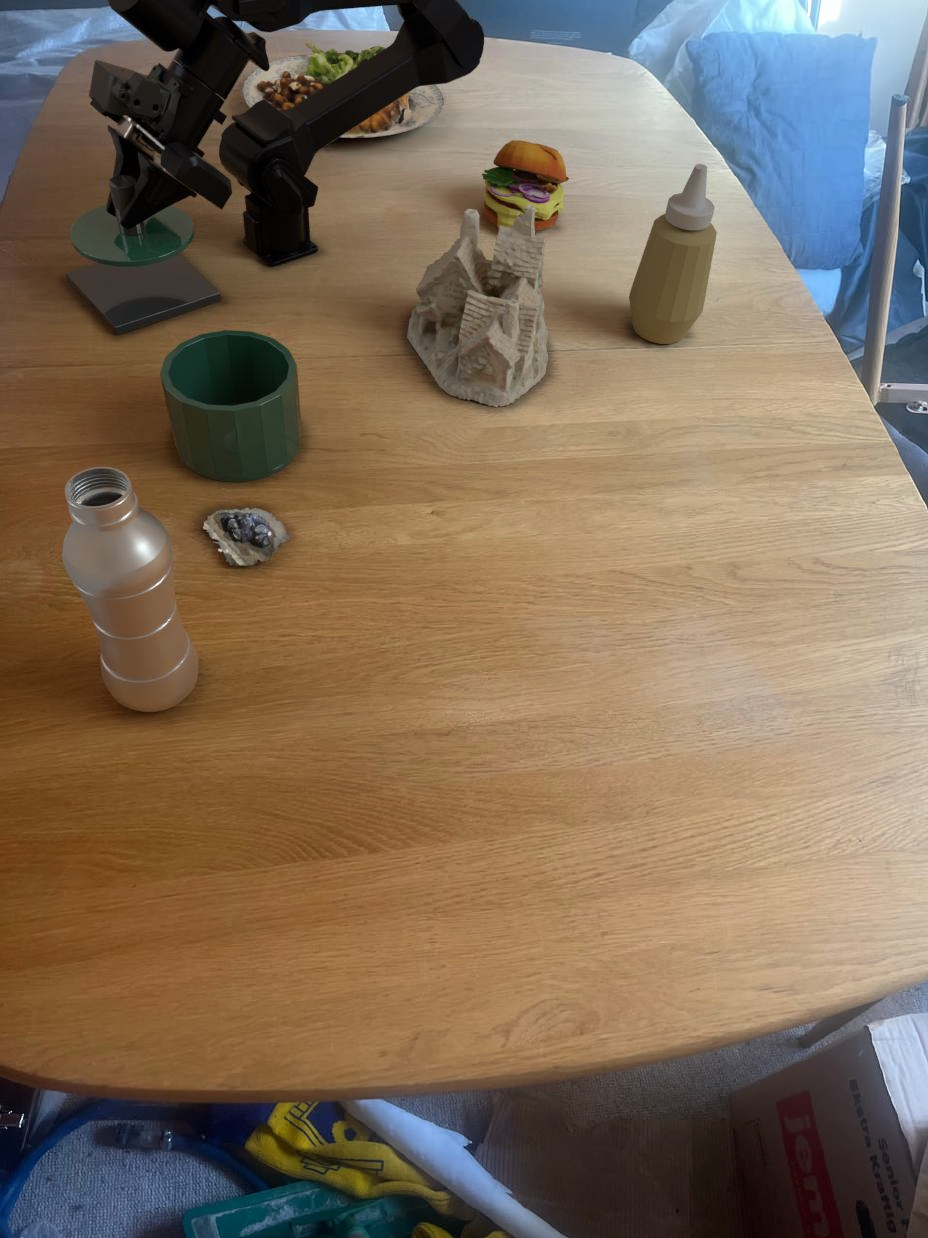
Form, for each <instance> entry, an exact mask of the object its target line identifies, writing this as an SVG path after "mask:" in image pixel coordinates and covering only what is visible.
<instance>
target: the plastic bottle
mask: <svg viewBox="0 0 928 1238" xmlns="http://www.w3.org/2000/svg"><path fill="white" fill-rule="evenodd" d="M64 496H65V499H66V502H67V505H68V513H69V516H70V518H71V520H72V523H71V524H70V526H69V528H68V530H67V532H66V534H65V536H64V539H63V543H62V545H63V546H62V554H61V555H62V556H61V558H62V565H63V567H64V569H65V571H66V574H67V575H68V577H69V579H70V581H71V582H72V584H73V585H74V587H75V589H76V590H77V592H78V594H79V596H80V597H81V599H82V601H83V602H84V604H85V606H86V608H87V611H88V613H89V616H90V618H91V620H92V622H93V626H94V628H95V631H96V635H97V638H98V639H97V640H98V644H99V649H100V669H101V670H100V671H101V677H102V681H103V683H104V685H105V687H106V689H107V690H108V692H109V693H110V695H111V696H112V697H113V699H114V700H115V701H116V702H117V703H119V704H120V705H121V706H123V707H125V708H127V709H129V710H133V711H136V712H137V711H138V712H143V713H155V712H157V713H158V712H161V711H165V710H168V709H171V708H173V707H175V706H176V705H178V704H180V703H181V702H182V701H183V700H184V699H185V698H187V697H188V696H189V695H190V694H191V692H192V691H193V690H194V688H195V687H196V685H197V681H198V677H199V655H198V652H197V650H196V648H195V645H194V644H193V641H192V639H191V638H190V636H189V635H188V633H187V631H186V628H185V626H184V623H183V620H182V618H181V615H180V613H179V609H178V605H177V600H176V592H175V585H174V549H173V548H174V547H173V542H172V538H171V534H169V532H168V530H167V529H166V527H165V526H164V524H163V523H162V522H161V520H160V519H158V518H157V517H156V516H155V515H153V514H152V513H151V512H149V511H147V510H146V509H144V508H142V507H140V503H139V500H138V495H137V494H136V493H135V491H134V489H133V485H132V481H131V479H130V478H129V476H128V475H127V473H125V472H123V471H122V470H120V469H118V468H115V467H109V466H95V467H90V468H87V469H83V470H81V471H79V472H77V473H75V474H74V475H72V476H71V477H70V478H69V479H68V481H67V482H66V484H65V486H64Z"/></svg>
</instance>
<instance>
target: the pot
mask: <svg viewBox="0 0 928 1238" xmlns="http://www.w3.org/2000/svg"><path fill="white" fill-rule="evenodd" d="M298 375H299V373H298V365H297V362H296V359H295V358H294V357H293V354H292V352H291V350H290V349H289V348H288V347H286V346H285V345H283V344H282V343H280V342H279V341H278V340H276V339H275V338H274V337H270V336H267V335H264V334H261V333H258V332H255V331H249V330H231V329H223V330H217V331H211V332H205V333H201V334H198V335H195V336H193V337H192V338H188V339H187V340H184V341H183V342H180V343H178V345H176V346H175V347H174V348H173V349H172V350H171V351H170V352H169V353H168V354H167V355H166V356H165V357H164V359H163V363H162V365H161V368H160V371H159V376H160V380H161V385H162V390H163V391H162V392H163V395H164V399H165V405H166V409H167V415H168V419H169V424H170V427H171V428H170V429H171V434H172V437H173V438H172V439H173V442H174V446H175V448H176V452H177V455H178V457H179V460H180V461H181V462H182V463H183V464H184V465H185V466H186V468H188V469H190V470H191V471H193V472H194V473H196V474H197V475H200V476H202V477H204V478H207V479H211V480H215V481H219V482H230V483H240V482H241V483H242V482H249V481H250V482H251V481H255V480H261V479H263V478H267V477H269V476H271V475H273V474H276V473H278V472H280V471H281V470H283V469H284V468H285V467H287V466H288V465H289V464H290V463H291V462H292V461H293V460H294V459H295V458H296V456H297V455H298V454H299V452H300V450H301V449H300V448H301V445H302V432H303V429H302V415H301V403H300V402H301V401H300V387H299V377H298Z"/></svg>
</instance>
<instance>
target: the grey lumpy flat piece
mask: <svg viewBox="0 0 928 1238" xmlns="http://www.w3.org/2000/svg"><path fill="white" fill-rule="evenodd" d="M202 529H203V530H206V531H205V532H206V533H208V536H209V538H211V539H212V540H216V541H214V543H215V544H218V545H219V547H220V548H217V552H220V553H222V552H223V555H224V557H225V561H226V562H228V563H229V565H230V566H237V567H242V566H243V567H244V566H248V567H250V566H255V565H256V564H257V563H258V561H260V562H262V563H263V562H268V560H269V559H271V557H272V553H273V552H274V553H278V551H279V550H280V548H279V545H280V544H285V543H286V544H287V542H288V541H291V537H292V536H291V534H287V533H288V532H287V529H286V527H285V525H284V524H283V523H282V521H281V520H277V517H275V516H273V513H271V512H269V511H268V510H267V511H266V510H264V509H260V507H258V508H257V507H254V508H249V507H244V508H241V510H240V509H237V508H234V509H223V508H222V509H218V510H215V511H214V512H213V513H211V514H210V515H207V519H206V520H204V521H203V526H202Z"/></svg>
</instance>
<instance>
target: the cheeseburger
mask: <svg viewBox="0 0 928 1238" xmlns="http://www.w3.org/2000/svg"><path fill="white" fill-rule="evenodd" d="M493 165H494V166H496V167H492V168H489V169H484V171H483V173H482V174H481V176H482V179H483V180H484V185H485V186H484V189H485V191H484V194H483V195H484V202H483V212H484V214H485V216H486V218H487V219H488V220H489V221H490V222H491V223H492V224H493V225H495V226H496V227H497V229H498V230H499V226H500V225H501V226H505V227H508V228H511V226H512V225H513V223H514V221H515V219H516V217H517V216H518V215H519V214H520V213H521V214H525V209H526V207H527V205H528V204H531V205H533V206H534V207H535V216H534V228H535V232H538V231H543V230H545V229H548V228H551V227H553V226H555V225H556V223H557V220H558V218H559V215H560V214H561V212H562V210H564V206H565V201H564V199H563V198H564V196H565V192H564V187H563V185H562V184H564V183H567V182H568V181H569V180H570V177H568V176H567V167H566V165H565V162H564V159H563V156H562V154H561V153H560V152H559V150H558V149H556V148H554V147H551V146H548V145H544V144H541V143H534V142H530V141H525V140H521V139H518V140H517V139H512V140H510V141H508V142H507V143H505V144H504V145H503V146H502V147H501V148H500V150H499V151H497V154H496V155H495V157H494V159H493Z"/></svg>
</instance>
